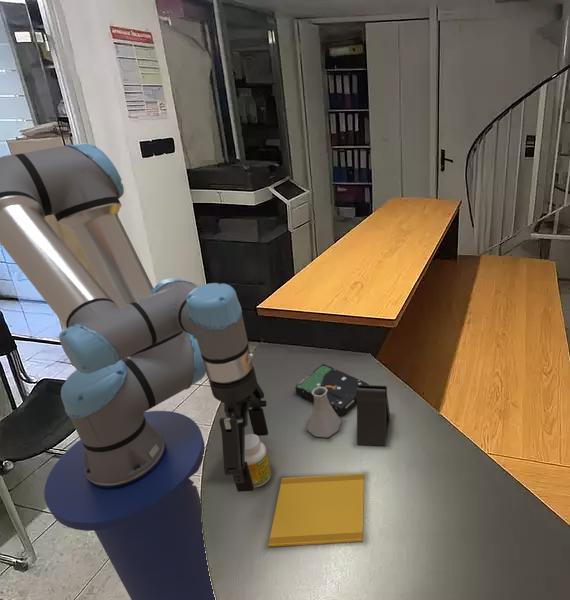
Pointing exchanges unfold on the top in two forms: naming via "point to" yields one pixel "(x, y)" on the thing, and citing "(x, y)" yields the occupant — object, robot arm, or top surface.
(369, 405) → the phone stand
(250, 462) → the supplement bottle
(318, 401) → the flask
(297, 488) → the yellow tray
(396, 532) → the top surface
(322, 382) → the disk drive
